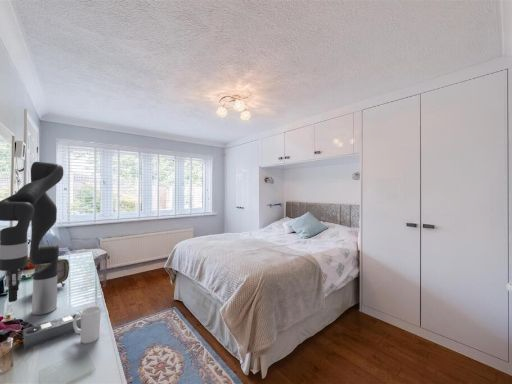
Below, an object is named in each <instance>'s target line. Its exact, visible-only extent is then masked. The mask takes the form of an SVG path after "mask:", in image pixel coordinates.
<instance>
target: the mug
mask: <svg viewBox="0 0 512 384" xmlns="http://www.w3.org/2000/svg"><path fill="white" fill-rule="evenodd" d="M101 309H102V307H100V306H96V305H95V306H89V307H86V308H84V309H82V310H81V311H80V312H81V314H80V313H78V312H75V313H76V316H75V318H74V320H73V327H74V330H75V332H74V333H75V334H80V342H81V343H82V344H90V343H93V342H96V341H97V340H98V339H99V337H100V333H101V332H100V330H101V329H100V328H101V312H102V310H101ZM79 317H80V318H81V329H79V328H78V327H77V325H76V320H77V318H79Z"/></svg>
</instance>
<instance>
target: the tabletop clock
mask: <svg viewBox="0 0 512 384" xmlns="http://www.w3.org/2000/svg"><path fill="white" fill-rule="evenodd" d="M49 264H50V263H46V264H38V265H34V266H35V267H34V271H33V274H34V273H35V272H36V271H38V270H40V269H43V268H45V267H46V266H48V265H49ZM69 272H70V262H69V259H67V258H59V257H58V274H57V285H59V284H61V286H62V287H64V286H65V285H66V284H65V283H64V282H66V281H67V280H68V277H69V274H70V273H69Z"/></svg>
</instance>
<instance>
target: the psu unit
mask: <svg viewBox="0 0 512 384" xmlns="http://www.w3.org/2000/svg"><path fill="white" fill-rule="evenodd" d="M76 313H80V314H81V311H78V312H74V313H72V314H69V315H66V316H62V317H58V318H56V319H51V320H49V321H45V322H43V323H39V324H36V325H33V326H30V327H26V328H23V329H22V344H23V348H24V350H27V349H31V348H34V347H36V346H39V345H41V344H44V343H47V342H50V341H53V340H56V339H59V338H61V337H64V336H67V335H70V334H72V333H76V332H75V330H74V327H73V320H74V318H75V316H76ZM76 325H77V327H78V328H79V329H81V318H80V317H79V318H77V320H76ZM23 338H24V339H23Z"/></svg>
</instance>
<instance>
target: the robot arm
mask: <svg viewBox="0 0 512 384" xmlns="http://www.w3.org/2000/svg"><path fill="white" fill-rule="evenodd" d="M63 177H64V168H63V166H62V164H58V163H54V162H53V163H52V162H44V161H34V162H33V163H32V164H31V167H30V182H28V183H27V184H24V185H23V186H21V187H20V188H19V189H18V191H16V193H14V194H12V195H9V196H7V197H5V198H3V199H2V200H0V221H2V222H14V221H15V222H17V223H16V225H14V226H8V227H4V228H2V229H1V230H0V271H1V272H5V275H4V276H5V277H4V278H5V280H6V281H5V283H6V284H5V285H6V287H7V293H8V294H7V295H8V301H7V302H8V303H13V302H17V301H18V291H19V285H20V284H21V278H22V271H21V270H20V269H23V268H25V267H27V266H28V258H29V263H30V264H31V265H32V266H36V265H38V264H46V263H50V264H49V265H48V266H46V267H45V268H43V269H40V270H38V271H36V272H35V273H34V272H33V274H32V296H31V297H32V299H31V301H32V304H31V314H32V315H33V316H39V315H45V314H49V313H51V312H53V311H55V310H57V304H58V303H57V302H58V284H57V274H58V258H59V255H60V254H59V253H60V249H59V245H58V244H56V243H55V244H44V245H40V243H41V241H42V239H43V238H44V237H45V236H46V234H47V233H48V232H49V231H50V230H51V229H52V227H53V226H54V225H55V223H56V222H57V215H58V212H57V211H58V209H57V206H56V204H55V202H54V201H53V199H52V198H51V197H50V196H49V194H48V193H47V192H48V191H49V190H51V189H52V188H53V187H55V186H56V185H57V184H58V183H60V182H61V181H62V179H63ZM30 224H31V230H30V231H31V234H30V235H31V236H30V237H31V238H30V246H29V247H28V231H29V228H30ZM28 249H29V250H28ZM28 251H29V252H28ZM28 255H29V256H28ZM6 271H7V272H6Z"/></svg>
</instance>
